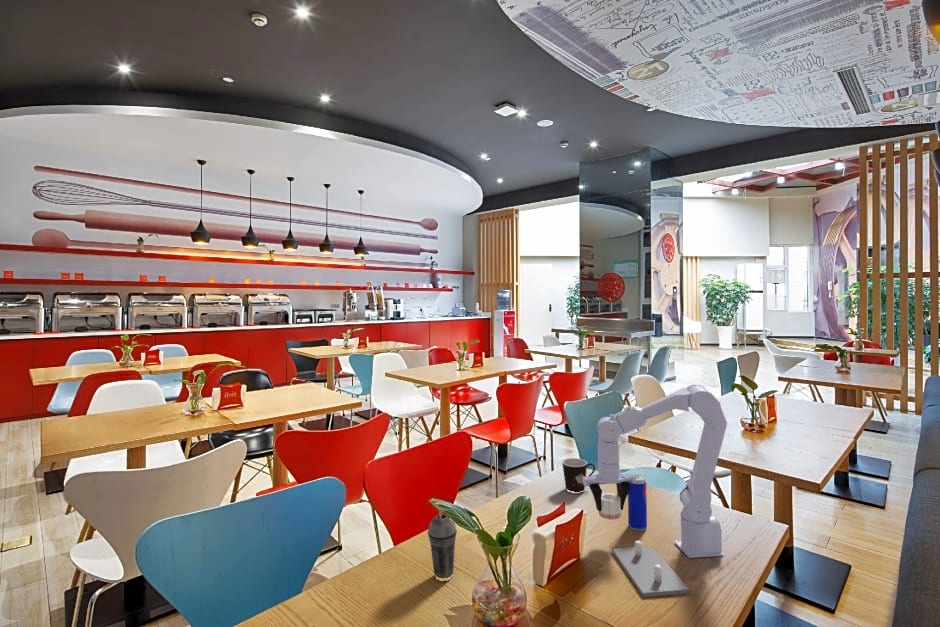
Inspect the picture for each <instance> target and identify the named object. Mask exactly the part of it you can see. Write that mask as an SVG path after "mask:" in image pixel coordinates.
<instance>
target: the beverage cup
mask: <svg viewBox="0 0 940 627" xmlns="http://www.w3.org/2000/svg"><path fill="white" fill-rule="evenodd" d="M438 501H440V502H441V499H438ZM438 512H439V513H438V515H436V516H435V517H434V518H432V520H431V521H430V522H429V525H428V529H427V535H428V539H429V543H430V548H431V549H430V551H431V559H432V560H431V561H432V566H433V575H434V576H435V575H436V576H437V577H439V578H448V577H450V576H451V575H452V574H454V564H455V549H456V546H455V545H456V540H457V538H456V537H457V533H458V531H457V527H456V523H455V521H454V520H453V521H454V522H453V521H451V520H450V519H449V518H448V517H447V516H448V515H447V514H443V513H442V510H441V511H440V510H439V509H438ZM446 515H447V516H446Z"/></svg>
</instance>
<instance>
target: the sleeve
mask: <svg viewBox="0 0 940 627" xmlns="http://www.w3.org/2000/svg"><path fill="white" fill-rule="evenodd" d="M601 507H602V509H601V511H598V515H599V516H600V517H601V518H603V519H606V520H617V519H618V520H619V518H621V516H622V513H621V512H622V510H621V498H620V497H619V496H618V494H617V493H613V492H602V495H601Z"/></svg>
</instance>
